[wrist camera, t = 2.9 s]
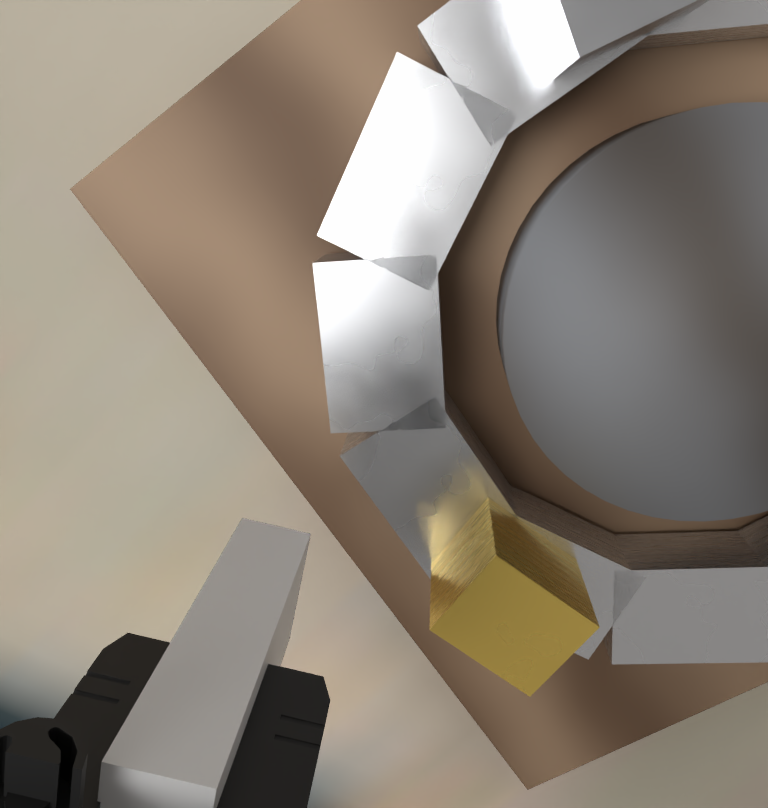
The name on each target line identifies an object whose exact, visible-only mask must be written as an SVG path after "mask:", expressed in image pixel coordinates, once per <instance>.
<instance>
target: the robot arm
mask: <svg viewBox="0 0 768 808" xmlns="http://www.w3.org/2000/svg"><path fill="white" fill-rule="evenodd" d="M310 535H311V534H310V533H305V532H301V531H297V530H292V529H288V528H284V527H279V526H275V525H271V524H267V523H262V522H258V521H254V520H249V519H245V518H242V519H241V521H240V523H239V524H238V526H237V528H236V530H235V531H234V533H233V535H232V537H231V538H230V540H229V542H228V544H227V545H226V547H225V549H224V550H223V552H222V554H221V556H220V557H219V559H218V561H217V563H216V564H215V566H214V568H213V570H212V571H211V573H210V575H209V576H208V578H207V580H206V582H205V583H204V585H203V587H202V589H201V590H200V592H199V594H198V595H197V597H196V599H195V601H194V602H193V604H192V606H191V608H190V609H189V611H188V613H187V615H186V616H185V618H184V620H183V621H182V623H181V625H180V627H179V628H178V630H177V632H176V634H175V635H174V637H173V639H172V640H171V642H170V643H169V642H165V641H161V640H156V639H152V638H148V637H144V636H139V635H135V634H131V633H127V634H125V635H124V636H122V637H121V638H119V639H118V640H116V641H115V642H113V643H112V644H110V645H108V646H107V647H105V648H104V649H103V650H102V651H101V653H100V654H99V655H98V657H97V658H96V660H95V661H94V663H93V664H92V665H91V667H90V668H89V670H88V671H87V674H86V676H85V675H84V677H83V678H82V679H81V681H80V682H79V684H78V685H77V687H76V688H75V690H74V693H73V694H71V695H70V696H69V698H68V699H67V701H66V702H65V703H64V705H63V706H62V708H61V709H60V711H59V712H58V713H57V715H56V716H55V718H54V719H52V718H39V717H37V718H32V719H27V720H22V721H17V722H14V723H12V724H10V725H8V726H6V727H4V728H2V729H0V808H307V804H308V800H309V795H310V791H311V786H312V782H313V777H314V772H315V768H316V763H317V759H318V754H319V749H320V745H321V740H322V736H323V731H324V727H325V722H326V717H327V713H328V708H329V704H330V698H329V695H328V691H327V688H326V684H325V681H324V677H323V676H318V675H314V674H310V673H305V672H301V671H297V670H293V669H288V668H284V667H280V666H281V663H282V660H283V657H284V654H285V651H286V648H287V645H288V642H289V638H290V634H291V629H292V624H293V619H294V614H295V609H296V604H297V599H298V594H299V589H300V584H301V580H302V575H303V570H304V565H305V560H306V555H307V550H308V545H309V540H310Z"/></svg>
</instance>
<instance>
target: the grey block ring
mask: <svg viewBox="0 0 768 808" xmlns="http://www.w3.org/2000/svg"><path fill="white" fill-rule="evenodd" d="M417 27H418V33H419V39H420V42H421V44H422V46H423V47H424V49H425V51H426V52H427V54H428V56H429V57H430V59H431V60H432V62H433V64H434V65H435V67H436V69H437V70H438V72H439V73H437V72H435V71H433V70H431V69H430V68H428V67H426V66H424V65H422V64H420V63H418V62H416V61H414V60H412V59H410V58H408V57H406V56H405V55H403V54H401V53H399V52H397V53H396V56H395V58H394V60H393V62H392V65H391V67H390V69H389V72H388V74H387V76H386V78H385V81H384V83H383V85H382V88H381V90H380V92H379V94H378V97H377V99H376V101H375V104H374V106H373V108H372V111H371V113H370V115H369V117H368V120H367V122H366V124H365V127H364V129H363V131H362V133H361V136H360V138H359V140H358V143H357V145H356V147H355V149H354V152H353V154H352V156H351V159H350V161H349V163H348V165H347V168H346V170H345V172H344V175H343V177H342V179H341V182H340V184H339V186H338V188H337V191H336V193H335V195H334V198H333V200H332V202H331V204H330V207H329V209H328V211H327V214H326V216H325V218H324V220H323V223H322V225H321V227H320V230H319V232H318V234H317V236H319V237H321V238H323V239H325V240H327V241H329V242H331V243H333V244H335V245H337V246H339V247H341V248H343V249H345V250H347V251H349V252H348V253H334V254H325V255H324V256H322V257H321V258H319V259H318V260H316V261H315V262H314V263H313V271H314V280H315V290H316V299H317V309H318V318H319V328H320V337H321V346H322V356H323V365H324V375H325V384H326V394H327V403H328V413H329V422H330V432H331V433H348V434H347V437H346V440H345V442H344V445H343V448H342V451H341V453H340V457H341V459H342V460H343V461H344V463H345V464H346V465H347V467H348V468H349V470H350V471H351V472H352V474H353V475H354V476H355V478H356V479H357V480H358V482H359V483H360V484H361V486H362V487H363V489H364V490H365V491H366V493H367V494H368V495H369V497H370V498H371V499H372V501H373V502H374V503H375V505H376V506H377V508H378V509H379V510H380V512H381V513H382V514H383V516H384V517H385V518H386V520H387V521H388V522H389V524H390V525H391V527H392V528H393V529H394V531H395V532H396V533H397V535H398V536H399V537H400V539H401V540H402V541H403V543H404V544H405V546H406V547H407V548H408V550H409V551H410V552H411V554H412V555H413V556H414V558H415V559H416V560H417V562H418V563H419V565H420V566H421V567H422V569H423V570H424V571H425V573H426V574H427V575H428V577H429V578H430V579H431V592H430V627H429V630H430V631H432V632H433V633H435V634H436V635H438V636H439V637H441V638H442V639H444V640H445V641H447V642H448V643H450V644H451V645H453V646H454V647H456V648H457V649H459V650H460V651H462V652H463V653H465V654H466V655H468V656H469V657H471V658H472V659H474V660H475V661H477V662H478V663H480V664H481V665H483V666H484V667H486V668H487V669H489V670H490V671H492V672H493V673H495V674H496V675H498V676H499V677H501V678H502V679H504V680H505V681H507V682H508V683H510V684H511V685H513V686H514V687H516V688H517V689H519V690H520V691H522V692H523V693H525V694H526V695H528V696H529V697H530V696H531V695H532V694H533V693H534V692H535V691H536V690H537V689H538V688H539V687H540V686H541V685H542V684H543V683H544V682H545V681H546V680H547V679H548V678H549V677H550V676H551V675H552V674H553V673H554V672H555V671H556V670H557V669H558V668H559V667H560V666H561V665H562V664H563V663H564V662H565V661H566V660H567V659H568V658H569V657H570V656H571V655H572V654H574V653H575V654H577V655H580V656H582V657H584V658H586V659H588V660H589V658H590V657H591V655H592V654H593V653H594V651H595V650H596V648H597V647H598V645H599V644H600V643H601V641H602V640H604V643H605V646H606V649H607V652H608V655H609V658H610V661H611V664H684V663H759V662H768V516H766V517H764V518H762V519H760V520H758V521H756V522H754V523H752V524H750V525H748V526H746V527H744V528H742V529H740V530H738V531H716V532H684V533H651V534H618V535H614V534H612V533H610V532H608V531H606V530H604V529H602V528H600V527H598V526H596V525H593V524H591V523H589V522H587V521H585V520H583V519H581V518H579V517H577V516H575V515H573V514H570V513H568V512H566V511H564V510H562V509H560V508H558V507H556V506H554V505H552V504H550V503H548V502H545V501H543V500H541V499H539V498H537V497H535V496H533V495H531V494H529V493H527V492H525V491H522V490H520V489H518V488H516V487H514V486H512V485H510V484H509V483H508V481H507V480H506V478H505V477H504V475H503V474H502V472H501V471H500V469H499V468H498V466H497V465H496V463H495V462H494V460H493V459H492V457H491V456H490V455H489V453H488V452H487V450H486V449H485V447H484V446H483V444H482V443H481V441H480V440H479V438H478V437H477V435H476V434H475V432H474V431H473V429H472V428H471V427H470V425H469V424H468V422H467V421H466V419H465V418H464V416H463V415H462V413H461V412H460V410H459V409H458V407H457V406H456V404H455V403H454V402H453V400H452V399H451V397H450V396H449V394H448V393H447V391H446V390H445V384H444V365H443V346H442V327H441V308H440V289H439V270H440V268H441V266H442V264H443V262H444V260H445V258H446V256H447V254H448V252H449V250H450V248H451V246H452V244H453V242H454V240H455V238H456V236H457V234H458V232H459V230H460V228H461V226H462V224H463V223H464V221H465V219H466V217H467V215H468V213H469V211H470V209H471V207H472V205H473V203H474V201H475V199H476V197H477V195H478V193H479V191H480V189H481V187H482V185H483V183H484V181H485V179H486V177H487V175H488V173H489V171H490V169H491V167H492V165H493V163H494V161H495V159H496V157H497V155H498V153H499V151H500V149H501V147H502V145H503V143H504V141H505V139H506V137H507V135H508V134H509V133H510V132H512V131H513V130H514V129H516V128H517V127H519V126H520V125H522V124H523V123H524V122H526V121H527V120H529V119H530V118H532V117H533V116H534V115H536V114H537V113H539V112H540V111H542V110H543V109H544V108H546V107H547V106H549V105H550V104H551V103H553V102H554V101H556V100H557V99H559V98H560V97H561V96H563V95H564V94H566V93H567V92H569V91H570V90H571V89H573V88H574V87H576V86H577V85H579V84H580V83H581V82H583V81H584V80H586V79H587V78H589V77H590V76H591V75H593V74H594V73H596V72H597V71H598V70H600V69H601V68H603V67H604V66H606V65H607V64H608V63H610V62H611V61H613V60H614V59H616V58H617V57H618V56H620V55H621V54H623V53H624V52H626V51H627V50H634V49H645V48H655V47H666V46H677V45H687V44H698V43H708V42H719V41H729V40H740V39H751V38H761V37H768V0H450V1H449V2H447V3H446V4H445V5H444V6H442V7H441V8H440V9H438V10H437V11H436V12H434V13H433V14H432V15H431V16H429V17H428V18H427V19H425V20H424V21H423V22H421V23H420V24H419V25H418V26H417Z"/></svg>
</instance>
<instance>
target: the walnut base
mask: <svg viewBox="0 0 768 808" xmlns="http://www.w3.org/2000/svg"><path fill="white" fill-rule="evenodd" d="M449 1H450V0H301V1H299V2H298V3H297V4H296V5H295V6H293V7H292V8H291V9H290V10H288V11H287V12H286V13H285V14H284V15H282V16H281V17H280V18H279V19H277V20H276V21H275V22H274V23H273V24H271V25H270V26H269V27H268V28H266V29H265V30H264V31H263V32H262V33H260V34H259V35H258V36H257V37H255V38H254V39H253V40H252V41H250V42H249V43H248V44H247V45H246V46H244V47H243V48H242V49H241V50H239V51H238V52H237V53H236V54H235V55H233V56H232V57H231V58H230V59H228V60H227V61H226V62H225V63H224V64H222V65H221V66H220V67H219V68H217V69H216V70H215V71H214V72H213V73H211V74H210V75H209V76H208V77H206V78H205V79H204V80H203V81H202V82H200V83H199V84H198V85H197V86H195V87H194V88H193V89H192V90H191V91H189V92H188V93H187V94H186V95H184V96H183V97H182V98H181V99H180V100H178V101H177V102H176V103H175V104H173V105H172V106H171V107H170V108H169V109H167V110H166V111H165V112H164V113H162V114H161V115H160V116H159V117H158V118H156V119H155V120H154V121H153V122H151V123H150V124H149V125H148V126H147V127H145V128H144V129H143V130H142V131H140V132H139V133H138V134H137V135H136V136H134V137H133V138H132V139H131V140H129V141H128V142H127V143H126V144H125V145H123V146H122V147H121V148H120V149H118V150H117V151H116V152H115V153H114V154H112V155H111V156H110V157H109V158H107V159H106V160H105V161H104V162H103V163H101V164H100V165H99V166H98V167H96V168H95V169H94V170H93V171H91V172H90V173H89V174H88V175H87V176H85V177H84V178H83V179H82V180H80V181H79V182H78V183H77V184H76V185H74V186H73V187H72V188H71V189H70V190H71V191H72V192H73V194H74V195H75V196H76V197H77V199H78V200H79V201H80V203H81V204H82V205H83V207H84V208H85V209H86V211H87V212H88V213H89V215H90V216H91V217H92V218H93V220H94V221H95V222H96V224H97V225H98V226H99V228H100V229H101V230H102V232H103V233H104V234H105V236H106V237H107V238H108V239H109V241H110V242H111V243H112V245H113V246H114V247H115V249H116V250H117V251H118V253H119V254H120V255H121V257H122V258H123V259H124V260H125V262H126V263H127V264H128V266H129V267H130V268H131V270H132V271H133V272H134V274H135V275H136V276H137V278H138V279H139V280H140V282H141V283H142V284H143V285H144V287H145V288H146V289H147V291H148V292H149V293H150V295H151V296H152V297H153V299H154V300H155V301H156V303H157V304H158V305H159V306H160V308H161V309H162V310H163V312H164V313H165V314H166V316H167V317H168V318H169V320H170V321H171V322H172V324H173V325H174V326H175V327H176V329H177V330H178V331H179V333H180V334H181V335H182V337H183V338H184V339H185V341H186V342H187V343H188V345H189V346H190V347H191V348H192V350H193V351H194V352H195V354H196V355H197V356H198V358H199V359H200V360H201V362H202V363H203V364H204V366H205V367H206V368H207V369H208V371H209V372H210V373H211V375H212V376H213V377H214V379H215V380H216V381H217V383H218V384H219V385H220V387H221V388H222V389H223V390H224V392H225V393H226V394H227V396H228V397H229V398H230V400H231V401H232V402H233V404H234V405H235V406H236V408H237V409H238V410H239V411H240V413H241V414H242V415H243V417H244V418H245V419H246V421H247V422H248V423H249V425H250V426H251V427H252V429H253V430H254V431H255V432H256V434H257V435H258V436H259V438H260V439H261V440H262V442H263V443H264V444H265V446H266V447H267V448H268V450H269V451H270V452H271V453H272V455H273V456H274V457H275V459H276V460H277V461H278V463H279V464H280V465H281V467H282V468H283V469H284V471H285V472H286V473H287V474H288V476H289V477H290V478H291V480H292V481H293V482H294V484H295V485H296V486H297V488H298V489H299V490H300V492H301V493H302V494H303V495H304V497H305V498H306V499H307V501H308V502H309V503H310V505H311V506H312V507H313V509H314V510H315V511H316V513H317V514H318V515H319V517H320V518H321V519H322V520H323V522H324V523H325V524H326V526H327V527H328V528H329V530H330V531H331V532H332V534H333V535H334V536H335V538H336V539H337V540H338V541H339V543H340V544H341V545H342V547H343V548H344V549H345V551H346V552H347V553H348V555H349V556H350V557H351V559H352V560H353V561H354V562H355V564H356V565H357V566H358V568H359V569H360V570H361V572H362V573H363V574H364V576H365V577H366V578H367V580H368V581H369V582H370V583H371V585H372V586H373V587H374V589H375V590H376V591H377V593H378V594H379V595H380V597H381V598H382V599H383V601H384V602H385V603H386V604H387V606H388V607H389V608H390V610H391V611H392V612H393V614H394V615H395V616H396V618H397V619H398V620H399V622H400V623H401V624H402V625H403V627H404V628H405V629H406V631H407V632H408V633H409V635H410V636H411V637H412V639H413V640H414V641H415V643H416V644H417V645H418V646H419V648H420V649H421V650H422V652H423V653H424V654H425V656H426V657H427V658H428V660H429V661H430V662H431V664H432V665H433V666H434V667H435V669H436V670H437V671H438V673H439V674H440V675H441V677H442V678H443V679H444V681H445V682H446V683H447V685H448V686H449V687H450V688H451V690H452V691H453V692H454V694H455V695H456V696H457V698H458V699H459V700H460V702H461V703H462V704H463V706H464V707H465V708H466V709H467V711H468V712H469V713H470V715H471V716H472V717H473V719H474V720H475V721H476V723H477V724H478V725H479V727H480V728H481V729H482V730H483V732H484V733H485V734H486V736H487V737H488V738H489V740H490V741H491V742H492V744H493V745H494V746H495V748H496V749H497V750H498V752H499V753H500V754H501V755H502V757H503V758H504V759H505V761H506V762H507V763H508V765H509V766H510V767H511V769H512V770H513V771H514V773H515V774H516V775H517V776H518V778H519V779H520V780H521V782H522V783H523V784H524V786H525V787H526V788H527V790H528V789H530V788H533V787H535V786H537V785H539V784H541V783H544V782H546V781H548V780H550V779H553V778H555V777H557V776H559V775H562V774H564V773H566V772H568V771H570V770H573V769H575V768H577V767H579V766H582V765H584V764H586V763H588V762H590V761H593V760H595V759H597V758H599V757H602V756H604V755H606V754H608V753H611V752H613V751H615V750H617V749H619V748H622V747H624V746H626V745H628V744H631V743H633V742H635V741H637V740H639V739H642V738H644V737H646V736H648V735H651V734H653V733H655V732H657V731H660V730H662V729H664V728H666V727H668V726H671V725H673V724H675V723H677V722H680V721H682V720H684V719H686V718H688V717H691V716H693V715H695V714H697V713H700V712H702V711H704V710H706V709H709V708H711V707H713V706H715V705H717V704H720V703H722V702H724V701H726V700H729V699H731V698H733V697H735V696H737V695H740V694H742V693H744V692H746V691H749V690H751V689H753V688H755V687H758V686H760V685H762V684H764V683H766V682H768V662H759V663H684V664H611V661H610V658H609V655H608V652H607V649H606V646H605V643H604V640H602V641H601V643H600V644H599V645H598V647H597V648H596V650H595V651H594V653H593V654H592V655H591V657H590V658H589V660H588V659H586V658H584V657H582V656H580V655H577V654H575V653H574V654H572V655H571V656H570V657H569V658H568V659H567V660H566V661H565V662H564V663H563V664H562V665H561V666H560V667H559V668H558V669H557V670H556V671H555V672H554V673H553V674H552V675H551V676H550V677H549V678H548V679H547V680H546V681H545V682H544V683H543V684H542V685H541V686H540V687H539V688H538V689H537V690H536V691H535V692H534V693H533V694H532V695H531V696H530V697H529V696H528V695H526V694H525V693H523V692H522V691H520V690H519V689H517V688H516V687H514V686H513V685H511V684H510V683H508V682H507V681H505V680H504V679H502V678H501V677H499V676H498V675H496V674H495V673H493V672H492V671H490V670H489V669H487V668H486V667H484V666H483V665H481V664H480V663H478V662H477V661H475V660H474V659H472V658H471V657H469V656H468V655H466V654H465V653H463V652H462V651H460V650H459V649H457V648H456V647H454V646H453V645H451V644H450V643H448V642H447V641H445V640H444V639H442V638H441V637H439V636H438V635H436V634H435V633H433V632H432V631H430V630H429V627H430V592H431V579H430V578H429V577H428V575H427V574H426V573H425V571H424V570H423V569H422V567H421V566H420V565H419V563H418V562H417V560H416V559H415V558H414V556H413V555H412V554H411V552H410V551H409V550H408V548H407V547H406V546H405V544H404V543H403V541H402V540H401V539H400V537H399V536H398V535H397V533H396V532H395V531H394V529H393V528H392V527H391V525H390V524H389V522H388V521H387V520H386V518H385V517H384V516H383V514H382V513H381V512H380V510H379V509H378V508H377V506H376V505H375V503H374V502H373V501H372V499H371V498H370V497H369V495H368V494H367V493H366V491H365V490H364V489H363V487H362V486H361V484H360V483H359V482H358V480H357V479H356V478H355V476H354V475H353V474H352V472H351V471H350V470H349V468H348V467H347V465H346V464H345V463H344V461H343V460H342V459H341V457H340V453H341V451H342V448H343V445H344V442H345V440H346V437H347V434H348V433H331V432H330V422H329V413H328V403H327V394H326V384H325V375H324V365H323V356H322V346H321V337H320V328H319V318H318V309H317V299H316V290H315V280H314V271H313V263H314V262H315V261H316V260H318V259H319V258H321V257H322V256H324V255H325V254H334V253H348V252H349V251H347V250H345V249H343V248H341V247H339V246H337V245H335V244H333V243H331V242H329V241H327V240H325V239H323V238H321V237H319V236H317V234H318V232H319V230H320V227H321V225H322V223H323V220H324V218H325V216H326V214H327V211H328V209H329V207H330V204H331V202H332V200H333V198H334V195H335V193H336V191H337V188H338V186H339V184H340V182H341V179H342V177H343V175H344V172H345V170H346V168H347V165H348V163H349V161H350V159H351V156H352V154H353V152H354V149H355V147H356V145H357V143H358V140H359V138H360V136H361V133H362V131H363V129H364V127H365V124H366V122H367V120H368V117H369V115H370V113H371V111H372V108H373V106H374V104H375V101H376V99H377V97H378V94H379V92H380V90H381V88H382V85H383V83H384V81H385V78H386V76H387V74H388V72H389V69H390V67H391V65H392V62H393V60H394V58H395V56H396V53H397V52H399V53H401V54H403V55H405V56H406V57H408V58H410V59H412V60H414V61H416V62H418V63H420V64H422V65H424V66H426V67H428V68H430V69H431V70H433V71H435V72H437V73H439V72H438V70H437V69H436V67H435V65H434V64H433V62H432V60H431V59H430V57H429V56H428V54H427V52H426V51H425V49H424V47H423V46H422V44H421V42H420V39H419V33H418V27H417V26H418V25H419V24H420V23H421V22H423V21H424V20H425V19H427V18H428V17H429V16H431V15H432V14H433V13H434V12H436V11H437V10H438V9H440V8H441V7H442V6H444V5H445V4H446V3H447V2H449ZM439 289H440V308H441V327H442V346H443V365H444V384H445V390H446V391H447V393H448V394H449V396H450V397H451V399H452V400H453V402H454V403H455V404H456V406H457V407H458V409H459V410H460V412H461V413H462V415H463V416H464V418H465V419H466V421H467V422H468V424H469V425H470V427H471V428H472V429H473V431H474V432H475V434H476V435H477V437H478V438H479V440H480V441H481V443H482V444H483V446H484V447H485V449H486V450H487V452H488V453H489V455H490V456H491V457H492V459H493V460H494V462H495V463H496V465H497V466H498V468H499V469H500V471H501V472H502V474H503V475H504V477H505V478H506V480H507V481H508V483H509V484H510V485H512V486H514V487H516V488H518V489H520V490H522V491H525V492H527V493H529V494H531V495H533V496H535V497H537V498H539V499H541V500H543V501H545V502H548V503H550V504H552V505H554V506H556V507H558V508H560V509H562V510H564V511H566V512H568V513H570V514H573V515H575V516H577V517H579V518H581V519H583V520H585V521H587V522H589V523H591V524H593V525H596V526H598V527H600V528H602V529H604V530H606V531H608V532H610V533H612V534H614V535H618V534H651V533H684V532H716V531H738V530H740V529H742V528H744V527H746V526H748V525H750V524H752V523H754V522H756V521H758V520H760V519H762V518H764V517H766V516H768V37H761V38H751V39H740V40H729V41H719V42H708V43H698V44H687V45H677V46H666V47H655V48H645V49H634V50H627V51H626V52H624V53H623V54H621V55H620V56H618V57H617V58H616V59H614V60H613V61H611V62H610V63H608V64H607V65H606V66H604V67H603V68H601V69H600V70H598V71H597V72H596V73H594V74H593V75H591V76H590V77H589V78H587V79H586V80H584V81H583V82H581V83H580V84H579V85H577V86H576V87H574V88H573V89H571V90H570V91H569V92H567V93H566V94H564V95H563V96H561V97H560V98H559V99H557V100H556V101H554V102H553V103H551V104H550V105H549V106H547V107H546V108H544V109H543V110H542V111H540V112H539V113H537V114H536V115H534V116H533V117H532V118H530V119H529V120H527V121H526V122H524V123H523V124H522V125H520V126H519V127H517V128H516V129H514V130H513V131H512V132H510V133H509V134H508V135H507V137H506V139H505V141H504V143H503V145H502V147H501V149H500V151H499V153H498V155H497V157H496V159H495V161H494V163H493V165H492V167H491V169H490V171H489V173H488V175H487V177H486V179H485V181H484V183H483V185H482V187H481V189H480V191H479V193H478V195H477V197H476V199H475V201H474V203H473V205H472V207H471V209H470V211H469V213H468V215H467V217H466V219H465V221H464V223H463V224H462V226H461V228H460V230H459V232H458V234H457V236H456V238H455V240H454V242H453V244H452V246H451V248H450V250H449V252H448V254H447V256H446V258H445V260H444V262H443V264H442V266H441V268H440V270H439Z"/></svg>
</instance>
